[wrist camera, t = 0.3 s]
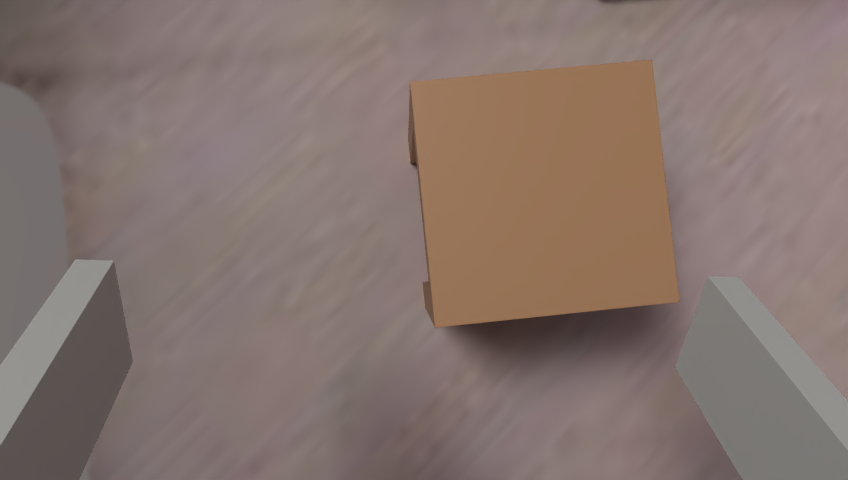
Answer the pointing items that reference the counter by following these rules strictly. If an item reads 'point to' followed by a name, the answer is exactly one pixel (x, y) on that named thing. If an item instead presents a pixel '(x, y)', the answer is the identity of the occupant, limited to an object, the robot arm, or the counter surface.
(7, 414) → the robot arm
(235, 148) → the counter surface
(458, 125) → the tan square cardboard-colored block
